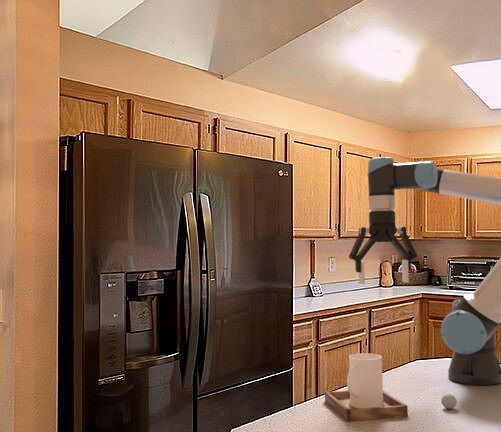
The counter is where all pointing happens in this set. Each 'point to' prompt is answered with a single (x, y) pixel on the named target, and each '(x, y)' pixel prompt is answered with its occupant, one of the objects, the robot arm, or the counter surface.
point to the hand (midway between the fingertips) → (383, 283)
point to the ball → (449, 401)
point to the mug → (365, 380)
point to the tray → (349, 413)
